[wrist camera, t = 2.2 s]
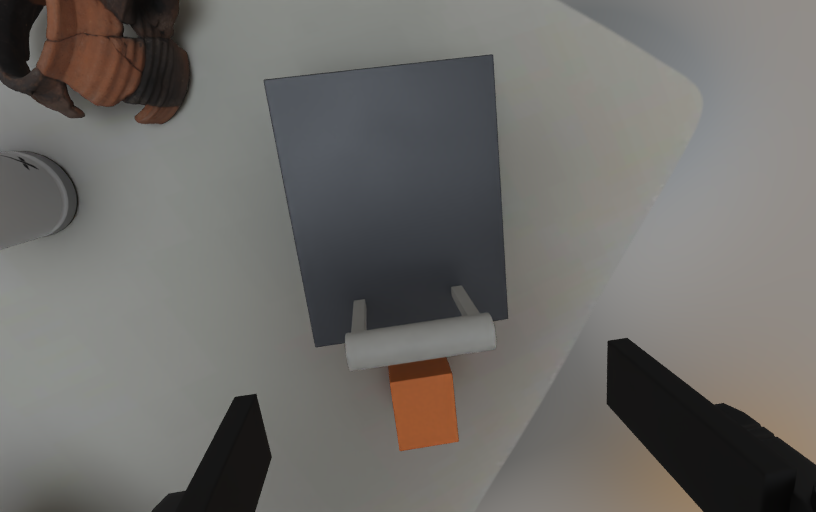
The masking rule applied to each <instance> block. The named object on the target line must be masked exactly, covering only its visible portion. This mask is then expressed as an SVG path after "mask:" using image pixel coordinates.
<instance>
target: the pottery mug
mask: <svg viewBox="0 0 816 512" xmlns="http://www.w3.org/2000/svg"><path fill="white" fill-rule="evenodd" d="M44 6H46V7H47V30H46V38H47V40H46V41H45V43H44V47H43V50H42V53H41V56H40V58H39V60H38V62H37V64H36V67H35V68H34V69H33V70H32V71H30V69H29V67H28V65H27V63H26V61H28V60H29V57H30V51H29V32H30V29H31V28H32V25H33V23H34V22H35V20H36V18H37V17H38V15H39V13H40V12H41V10H42V9H43V7H44ZM178 13H179V0H0V80H1V82H2V83H3V84H4V85H6V86H7V87H9V88H11V89H13V90H15V91H19V92H21V93H24V94H27V95H29V96H31V97H32V98H33V99H34V100H36V101H37V102H38V103H40V104H43V105H44V106H45V107H47V108H50V109H52V110H55V111H58V112H60V113H62V114H63V115H65V116H67V117H69V118H82V117H84V116H85V114H84V112H83V111H82V110H81V109H79V108H78V107H76V106H74V103H73V101H72V100H71V98H70V96H69V94H68V90H67V86H66V84H68V85H69V86H70V87H71V88H72V89H73V90H74V91H76V92H78V93H79V94H80V95H81V96H83V97H84V98H86V99H87V100H89V101H90V102H91V103H93V104H95V105H97V106H105V107H111V106H114V105H116V104H118V103H119V102H120V101H124V102H125V103H130V104H142V105H145V107H144V108H143V109H142V111H140V112H139V113H138V114H137V115H136V116H135V120H136V121H137V122H138V123H141V124H155V123H157V124H163V123H165V122H166V121H168V120H169V119H170V118H171V117H172V116H173V115H174V114H175V113H176V111H177V110H178V108H179V106H180V105H181V103H182V101H183V99H184V96H185V94H186V93H187V87H188V83H189V76H190V70H189V61H188V56H187V53H186V51H184V50H183V49H182V48H180V47H179V46H178V45H177V44H176V43H175V42H173V40H172V39H171V37H172V36H173V34H174V29H173V26H174V23H175V21H176V19H177V16H178ZM123 23H125V24H129V25H130V26H131V27H132V28H133V29H134V31H135V32H136V33H137V34H138V36H139V37H138V38H130V37H123V32H124V26H123Z"/></svg>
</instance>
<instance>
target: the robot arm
mask: <svg viewBox="0 0 816 512" xmlns="http://www.w3.org/2000/svg"><path fill="white" fill-rule="evenodd" d="M607 354H608V355H607V405H608V406H609V407H610V408H611V409H612V410H613V411H614V412H615V414H616V415H617V416H618V417H619V418H620V419H621V420H622V421H623V422H624V424H625V425H626V426H627V427H628V428H629V429H630V430H631V431H632V433H634V435H635V436H636V437H637V438H638V439H639V440H640V441H641V442H642V444H643V445H644V446H645V447H646V448H647V449H648V450H649V451H650V453H651V454H652V455H653V456H654V457H655V458H656V459H657V460H658V461H659V463H660V464H661V465H662V466H663V467H664V468H665V469H666V470H667V472H668V473H669V474H670V475H671V476H672V477H673V478H674V479H675V480H676V481H677V483H678V484H679V485H680V486H681V487H682V488H683V489H684V490H685V492H686V493H687V494H688V495H689V496H690V497H691V498H692V499H693V501H695V503H696V504H697V505H698V506H699V507H700V508H701V509H702V511H703V512H816V465H815V464H814V463H812V462H811V461H810V460H808V459H807V458H806V457H804V456H803V455H802V454H800V453H799V452H798V451H796V450H795V449H793V448H792V447H791V446H789V445H788V444H786V443H785V442H784V441H782V440H781V439H780V438H778V437H775V436H774V434H773V433H771V432H770V431H769V430H767V429H766V428H765V427H761V425H760V424H759V423H758V422H756V421H755V420H754V419H752V418H751V417H750V416H748V415H747V414H745V413H744V412H742V411H739V410H737V409H735V408H733V407H731V406H728V405H726V404H724V403H721V404H715V405H714V404H712V403H711V402H710V401H708V400H707V399H706V398H705V397H703V396H702V395H701V394H699V393H698V392H697V391H695V390H694V389H693V388H691V387H690V386H689V385H688V384H686V383H685V382H684V381H682V380H681V379H680V378H679V377H677V376H676V375H675V374H673V373H672V372H671V371H670V370H668V369H667V368H666V367H664V366H663V365H661V364H660V363H659V362H658V361H657V360H655V359H654V358H653V357H651V356H650V355H649V354H647V353H646V352H645V351H643V350H642V349H641V348H640V347H638V346H637V345H636V344H634V343H633V342H632V341H631V340H629V339H628V338H624V339H617V340H610V341H608V353H607ZM271 458H272V456H271V452H270V448H269V444H268V440H267V436H266V432H265V427H264V423H263V419H262V415H261V411H260V407H259V403H258V399H257V395H256V394H252V395H245V396H239V397H235V398H234V399H233V401H232V403H231V405H230V407H229V409H228V411H227V413H226V415H225V417H224V419H223V421H222V422H221V424H220V426H219V428H218V430H217V432H216V434H215V436H214V438H213V440H212V442H211V444H210V445H209V447H208V449H207V451H206V453H205V455H204V457H203V459H202V461H201V463H200V465H199V467H198V468H197V470H196V472H195V474H194V476H193V478H192V480H191V482H190V484H189V486H188V488H187V490H186V491H182V492H176V493H170V494H168V495H167V496H166V497H165V498H164V499H163V500H162V501H161V502H160V503H159V504H158V505H157V506H156V507H155V508H154V509H153V510H152V512H255V510H256V507H257V504H258V500H259V497H260V494H261V491H262V487H263V484H264V481H265V478H266V474H267V471H268V468H269V464H270V461H271Z"/></svg>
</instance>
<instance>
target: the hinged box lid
mask: <svg viewBox="0 0 816 512" xmlns="http://www.w3.org/2000/svg"><path fill="white" fill-rule="evenodd" d="M264 85H265V90H266V96H267V101H268V106H269V111H270V116H271V121H272V126H273V132H274V137H275V142H276V147H277V152H278V157H279V162H280V168H281V173H282V178H283V183H284V188H285V193H286V198H287V204H288V209H289V214H290V219H291V224H292V229H293V235H294V240H295V245H296V250H297V255H298V260H299V265H300V271H301V276H302V281H303V286H304V291H305V296H306V301H307V307H308V312H309V317H310V322H311V327H312V332H313V337H314V343H315V347H322V346H328V345H335V344H342V343H345V350H346V358H347V364H348V368H349V370H350V371H357V370H364V369H370V368H377V367H384V366H390V365H397V364H403V363H410V362H416V361H423V360H429V359H436V358H443V357H449V356H456V355H462V354H469V353H475V352H482V351H489V350H494V349H495V348H496V331H495V326H494V323H493V321H497V320H504V319H508V308H507V290H506V273H505V255H504V238H503V220H502V202H501V185H500V167H499V150H498V132H497V114H496V97H495V79H494V62H493V55H483V56H473V57H464V58H455V59H446V60H437V61H428V62H419V63H410V64H401V65H392V66H383V67H374V68H365V69H356V70H347V71H338V72H329V73H320V74H311V75H302V76H293V77H284V78H275V79H266V80H264Z"/></svg>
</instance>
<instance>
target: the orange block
mask: <svg viewBox="0 0 816 512" xmlns="http://www.w3.org/2000/svg"><path fill="white" fill-rule="evenodd" d="M388 369H389V380H390V388H391V395H392V402H393V409H394V415H395V422H396V429H397V436H398V443H399V450H400V451H404V450H410V449H416V448H423V447H429V446H435V445H441V444H447V443H453V442H458V441H459V438H458V428H457V418H456V407H455V397H454V387H453V377H452V372H451V369H450V366H449V363H448V361H447V358H446V357H443V358H436V359H429V360H423V361H416V362H410V363H403V364H397V365H390V366H388Z"/></svg>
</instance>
